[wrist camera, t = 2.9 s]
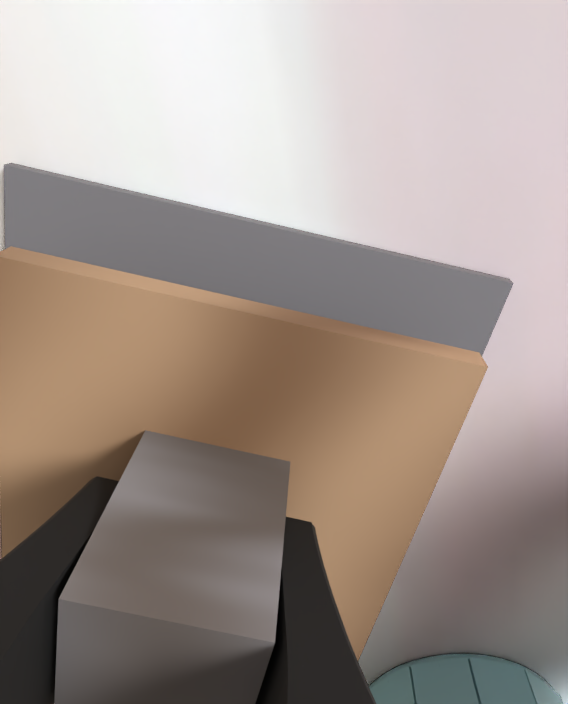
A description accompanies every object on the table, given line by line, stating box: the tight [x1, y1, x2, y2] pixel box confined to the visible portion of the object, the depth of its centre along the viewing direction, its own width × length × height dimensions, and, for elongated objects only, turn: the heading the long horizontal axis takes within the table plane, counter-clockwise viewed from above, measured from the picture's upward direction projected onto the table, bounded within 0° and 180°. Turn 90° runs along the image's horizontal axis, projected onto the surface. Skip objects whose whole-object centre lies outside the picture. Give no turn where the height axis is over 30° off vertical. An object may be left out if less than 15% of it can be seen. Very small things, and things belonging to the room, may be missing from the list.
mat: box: [4, 163, 513, 356], centre depth 14 cm, size 11×11×1 cm
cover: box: [0, 246, 488, 704], centre depth 10 cm, size 9×9×5 cm
